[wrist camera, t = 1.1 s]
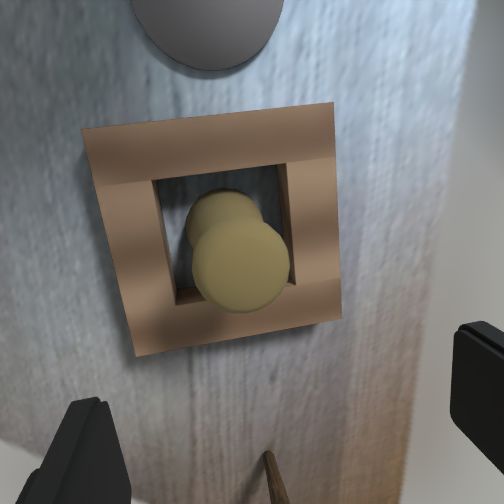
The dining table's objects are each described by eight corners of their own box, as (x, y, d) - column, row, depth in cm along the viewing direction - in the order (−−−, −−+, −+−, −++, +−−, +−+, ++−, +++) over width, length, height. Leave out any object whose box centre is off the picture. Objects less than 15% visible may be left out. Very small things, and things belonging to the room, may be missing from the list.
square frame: (93, 130, 25) (80, 129, 22) (318, 106, 26) (333, 101, 24) (141, 336, 29) (136, 356, 27) (328, 302, 31) (342, 318, 29)
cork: (219, 278, 29) (235, 353, 19) (168, 221, 27) (155, 270, 17) (278, 232, 29) (327, 282, 18) (231, 171, 27) (257, 188, 16)
